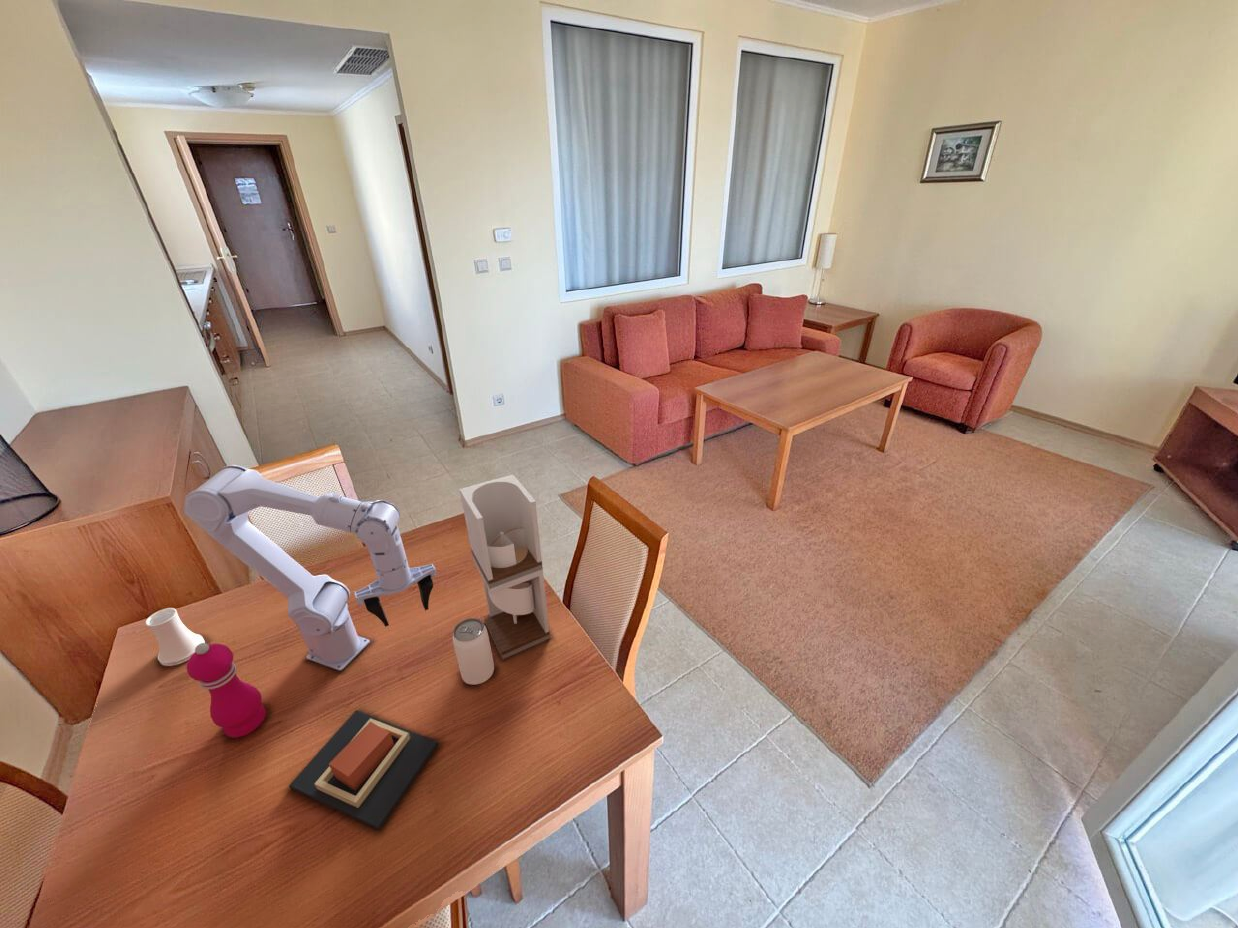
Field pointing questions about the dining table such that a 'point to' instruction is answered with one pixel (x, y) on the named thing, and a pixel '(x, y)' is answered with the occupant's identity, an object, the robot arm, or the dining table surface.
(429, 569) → the robot arm
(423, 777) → the dining table surface
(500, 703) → the dining table surface
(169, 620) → the vase
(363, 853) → the dining table surface
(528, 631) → the white tower stand
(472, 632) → the can
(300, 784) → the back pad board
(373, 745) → the reddish brown block
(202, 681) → the pepper mill
